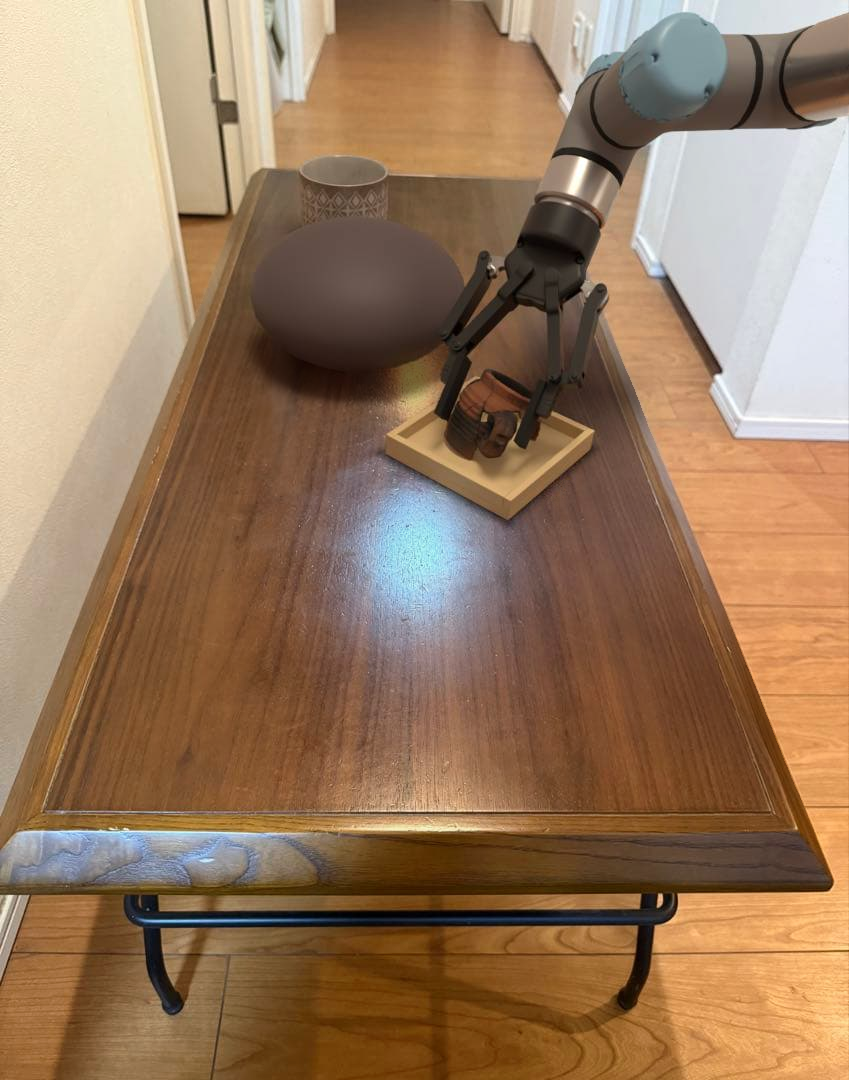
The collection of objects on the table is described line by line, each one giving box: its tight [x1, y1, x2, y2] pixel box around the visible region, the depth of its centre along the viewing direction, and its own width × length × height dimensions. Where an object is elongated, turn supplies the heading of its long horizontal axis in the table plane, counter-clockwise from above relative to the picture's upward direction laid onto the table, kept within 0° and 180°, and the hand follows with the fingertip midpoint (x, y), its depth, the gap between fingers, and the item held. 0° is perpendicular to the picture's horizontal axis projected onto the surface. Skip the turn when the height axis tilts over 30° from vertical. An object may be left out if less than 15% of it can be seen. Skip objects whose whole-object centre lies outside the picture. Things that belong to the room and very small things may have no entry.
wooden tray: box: [385, 375, 595, 521], centre depth 87 cm, size 16×16×2 cm
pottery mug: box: [444, 368, 541, 460], centre depth 85 cm, size 12×9×8 cm
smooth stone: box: [249, 216, 466, 373], centre depth 97 cm, size 25×25×15 cm
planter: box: [298, 153, 390, 227], centre depth 122 cm, size 13×13×10 cm
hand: (479, 430), depth 83 cm, fingers closed on pottery mug, 8 cm apart
